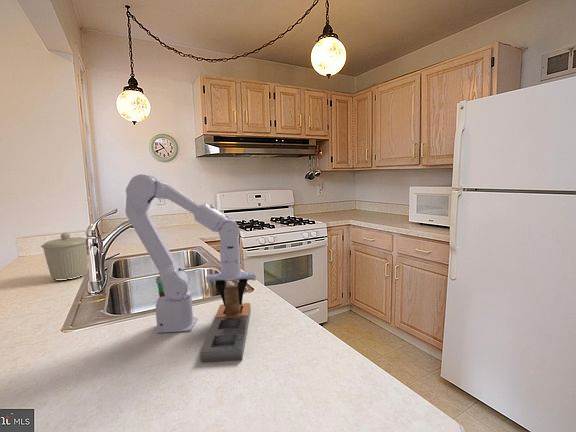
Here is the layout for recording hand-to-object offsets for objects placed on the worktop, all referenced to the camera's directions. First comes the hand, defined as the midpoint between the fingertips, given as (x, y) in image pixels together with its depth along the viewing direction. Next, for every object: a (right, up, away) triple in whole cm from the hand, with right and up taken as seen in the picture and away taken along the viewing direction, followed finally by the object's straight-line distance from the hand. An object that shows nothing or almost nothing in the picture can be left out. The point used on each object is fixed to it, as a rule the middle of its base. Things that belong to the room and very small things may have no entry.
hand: (233, 304), depth 93 cm
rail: (+1, -5, -8) cm, 10 cm away
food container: (-24, -4, +18) cm, 30 cm away
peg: (0, -4, 0) cm, 4 cm away
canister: (-84, -2, +51) cm, 98 cm away
